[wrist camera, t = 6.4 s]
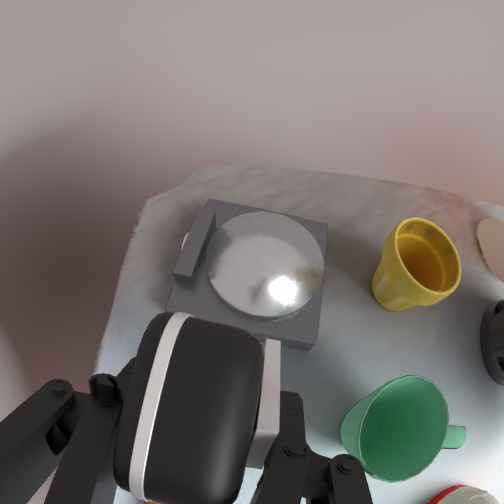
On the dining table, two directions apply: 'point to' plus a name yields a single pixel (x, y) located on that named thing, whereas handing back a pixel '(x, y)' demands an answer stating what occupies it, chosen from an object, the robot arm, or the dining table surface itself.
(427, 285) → the plant pot
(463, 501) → the kitchen timer
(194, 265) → the scale
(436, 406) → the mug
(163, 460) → the battery charger
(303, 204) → the dining table surface
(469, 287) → the dining table surface
